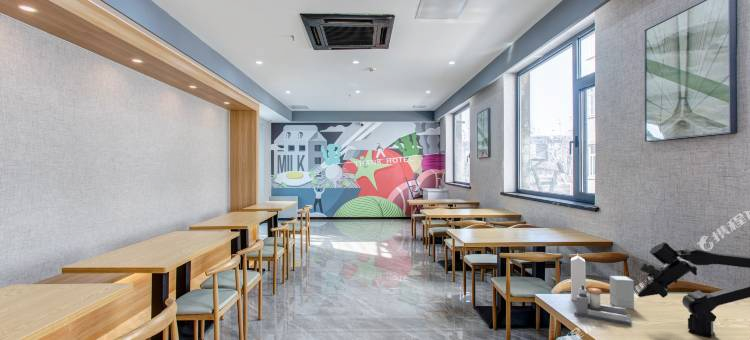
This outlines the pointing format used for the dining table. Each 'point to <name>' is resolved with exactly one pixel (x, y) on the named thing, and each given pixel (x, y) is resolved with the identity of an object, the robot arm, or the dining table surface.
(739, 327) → the dining table surface
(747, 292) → the robot arm
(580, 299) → the mount
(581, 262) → the milk
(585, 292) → the potentiometer
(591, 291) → the knob
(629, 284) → the supplement box
